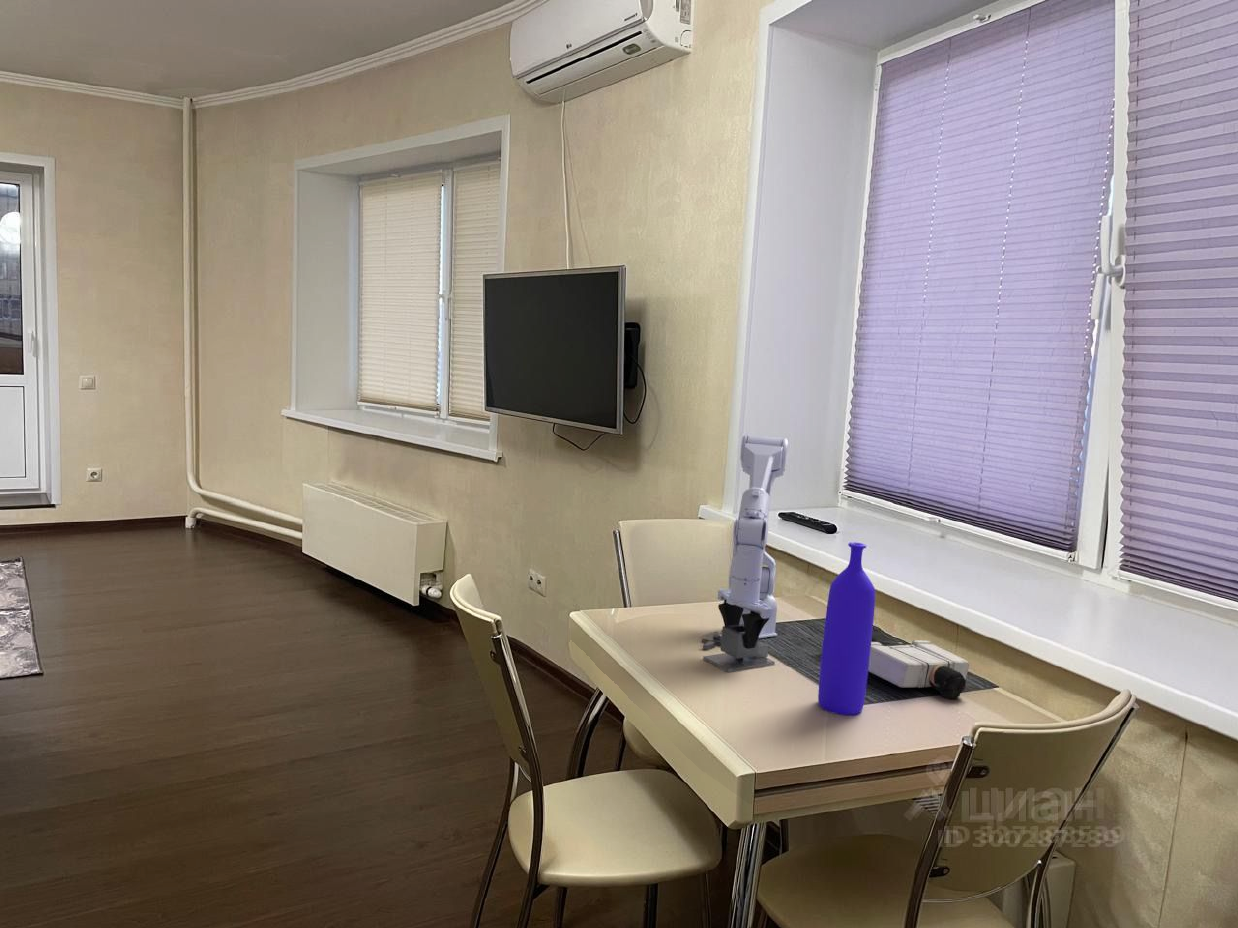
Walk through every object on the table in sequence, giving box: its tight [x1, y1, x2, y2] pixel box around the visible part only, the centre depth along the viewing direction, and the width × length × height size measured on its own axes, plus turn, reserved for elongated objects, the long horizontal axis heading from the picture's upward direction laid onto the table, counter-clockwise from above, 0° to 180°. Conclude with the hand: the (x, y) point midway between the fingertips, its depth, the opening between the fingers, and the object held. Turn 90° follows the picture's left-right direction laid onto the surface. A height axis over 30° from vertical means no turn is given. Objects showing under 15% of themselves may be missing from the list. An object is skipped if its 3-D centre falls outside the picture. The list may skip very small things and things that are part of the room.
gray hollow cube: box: [720, 624, 760, 659], centre depth 189 cm, size 5×5×5 cm
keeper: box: [702, 641, 776, 673], centre depth 190 cm, size 12×8×4 cm, turn 123°
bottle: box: [817, 541, 876, 716], centre depth 168 cm, size 8×8×30 cm
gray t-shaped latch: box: [701, 631, 722, 651], centre depth 200 cm, size 10×5×2 cm, turn 152°
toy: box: [868, 626, 970, 700], centre depth 189 cm, size 19×7×30 cm
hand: (740, 643), depth 190 cm, fingers closed on gray hollow cube, 5 cm apart
